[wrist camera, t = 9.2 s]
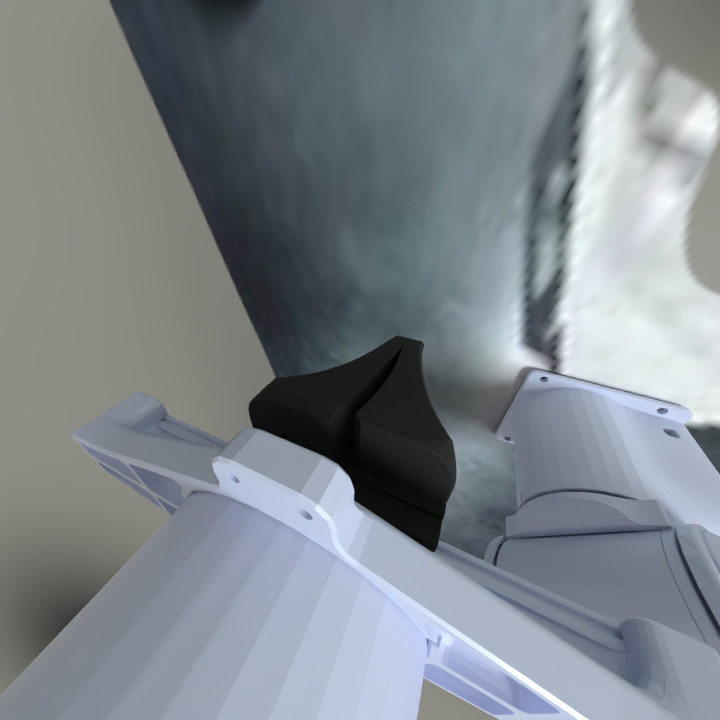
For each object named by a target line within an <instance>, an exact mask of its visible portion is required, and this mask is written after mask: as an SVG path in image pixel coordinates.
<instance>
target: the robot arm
mask: <svg viewBox="0 0 720 720" xmlns="http://www.w3.org/2000/svg"><path fill="white" fill-rule="evenodd" d="M423 348H424V344H423V342H421V341H417V340H413V339H409V338H405V337H401V336H395V337H393V338H392V339H390V340H389V341H387V342H386V343H384V344H383V345H381V346H379V347H378V348H376V349H374V350H373V351H371V352H369V353H367V354H365V355H364V356H362V357H360V358H358V359H356V360H353V361H351V362H349V363H346V364H343V365H341V366H338V367H334V368H331V369H328V370H324V371H321V372H316V373H312V374H306V375H301V376H293V377H285V378H275V379H274V380H273V381H272V382H271V383H270V384H268V385H267V386H266V387H265V388H264V389H263V390H262V391H261V392H260V393H259V394H258V395H256V397H254V398H253V399H252V400H251V402H250V403H249V408H248V409H249V416H250V419H251V422H252V426H253V428H251V427H246V428H245V429H243V430H241V431H239V433H237V435H235V436H234V438H232V439H231V440H230V442H225V441H223V440H221V439H219V438H217V437H215V436H213V435H210V434H208V433H206V432H204V431H202V430H200V429H197V428H195V427H193V426H191V425H189V424H187V423H184V422H182V421H180V420H178V419H176V418H174V417H171V416H169V415H167V411H166V409H165V408H164V406H163V404H162V403H161V402H159V401H158V400H157V399H155V398H153V397H150V396H148V395H146V394H144V393H141V392H137V393H135V394H134V395H132V396H130V397H129V398H127V399H125V400H124V401H122V402H120V403H119V404H117V405H116V406H114V407H112V408H111V409H109V410H107V411H106V412H104V413H102V414H101V415H99V416H98V417H96V418H94V419H93V420H91V421H90V422H88V423H86V424H85V425H83V426H81V427H80V428H78V429H76V430H75V431H73V432H71V436H72V437H73V438H74V439H75V441H76V442H77V443H78V444H79V445H80V446H81V447H82V448H83V449H84V450H85V451H86V452H87V453H88V454H89V455H90V456H91V457H92V458H93V459H94V460H95V461H96V462H97V464H99V466H100V467H101V468H102V469H103V470H104V471H105V472H106V473H108V474H109V475H111V476H112V477H114V478H116V479H117V480H119V481H121V482H122V483H123V484H125V485H126V486H128V487H130V488H131V489H132V490H134V491H135V492H137V493H138V494H140V495H141V496H143V497H144V498H146V499H147V500H148V501H150V502H151V503H153V504H154V505H155V506H157V507H158V508H160V509H161V510H162V511H164V512H165V513H167V514H168V515H170V516H171V517H170V518H169V519H168V520H167V521H166V522H165V523H164V524H163V525H162V526H161V527H160V528H159V529H158V530H157V532H156V533H155V534H154V535H153V536H152V537H151V538H150V539H149V540H148V541H147V542H146V543H145V544H144V545H143V546H142V547H141V548H140V549H139V550H138V551H137V553H136V554H135V555H134V556H133V557H132V558H131V559H130V560H129V561H128V562H127V563H126V564H125V565H124V566H123V567H122V568H121V569H120V570H119V571H118V572H117V574H116V575H115V576H114V577H113V578H112V579H111V580H110V581H109V582H108V583H107V584H106V585H105V586H104V587H103V588H102V589H101V590H100V591H99V592H98V594H97V595H96V596H95V597H94V598H93V599H92V600H91V601H90V602H89V603H88V604H87V605H86V606H85V607H84V608H83V609H82V610H81V611H80V612H79V614H78V615H77V616H76V617H75V618H74V619H73V620H72V621H71V622H70V623H69V624H68V625H67V626H66V627H65V628H64V629H63V630H62V631H61V633H59V635H58V636H57V637H56V638H55V639H54V640H53V641H52V642H51V643H50V644H49V645H48V646H47V647H46V648H45V649H44V650H43V651H42V653H40V654H39V656H38V657H37V658H36V659H35V660H34V661H33V662H32V663H31V664H30V665H29V666H28V667H27V668H26V669H25V670H24V672H22V674H21V675H20V676H19V677H18V678H17V679H16V680H15V681H14V682H13V683H12V684H11V685H10V686H9V687H8V688H7V689H6V690H5V691H4V692H3V694H1V696H0V720H417V714H418V707H419V701H420V694H421V688H422V681H423V678H425V679H427V680H428V681H430V682H432V683H434V684H436V685H437V686H440V687H441V688H443V689H445V690H446V691H448V692H450V693H452V694H454V695H455V696H457V697H459V698H461V699H463V700H465V701H466V702H468V703H470V704H472V705H474V706H475V707H478V708H479V709H481V710H483V711H484V712H486V713H488V714H490V715H492V716H494V717H495V718H497V719H499V720H720V474H719V473H718V472H717V470H716V469H715V468H714V466H713V465H712V463H711V462H710V461H709V459H708V458H707V456H706V455H705V454H704V452H703V451H702V449H701V448H700V447H699V445H698V444H697V443H696V441H695V440H694V438H693V437H692V436H691V434H690V433H689V431H688V430H687V429H686V427H685V426H684V424H685V423H686V422H687V421H688V420H690V419H691V418H692V416H693V415H692V413H691V411H690V410H689V409H688V408H685V407H682V406H678V405H674V404H670V403H666V402H662V401H658V400H655V399H651V398H647V397H643V396H639V395H635V394H631V393H627V392H623V391H620V390H616V389H612V388H608V387H604V386H600V385H596V384H592V383H588V382H585V381H581V380H577V379H573V378H569V377H565V376H561V375H557V374H554V373H550V372H546V371H542V370H537V369H535V370H532V371H530V372H529V373H528V375H527V377H526V379H525V380H524V382H523V384H522V386H521V388H520V389H519V391H518V393H517V395H516V397H515V398H514V400H513V402H512V404H511V406H510V407H509V409H508V411H507V413H506V415H505V416H504V418H503V420H502V422H501V424H500V425H499V427H498V429H497V431H496V434H495V436H496V438H497V439H499V440H501V441H504V442H507V443H510V444H513V445H514V453H515V474H516V495H517V514H515V515H513V516H508V517H506V536H500V537H497V538H495V539H493V540H492V541H491V543H490V544H489V546H488V548H487V550H486V553H485V557H484V561H483V560H481V559H479V558H476V557H474V556H472V555H470V554H468V553H466V552H463V551H461V550H459V549H457V548H455V547H453V546H451V545H448V544H446V543H444V542H442V541H440V540H439V536H440V530H441V524H442V519H443V518H444V514H445V508H446V503H447V501H448V499H449V497H450V495H451V493H452V491H453V489H454V486H455V483H456V459H455V452H454V446H453V441H452V440H451V438H450V437H449V435H448V434H447V432H446V431H445V429H444V427H443V426H442V424H441V422H440V420H439V418H438V417H437V415H436V412H435V410H434V408H433V406H432V404H431V401H430V398H429V395H428V392H427V389H426V385H425V381H424V376H423V370H422V352H423ZM541 377H547V378H546V379H540V378H541ZM660 408H665V409H663V410H658V409H660ZM507 437H510V438H507Z"/></svg>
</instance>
